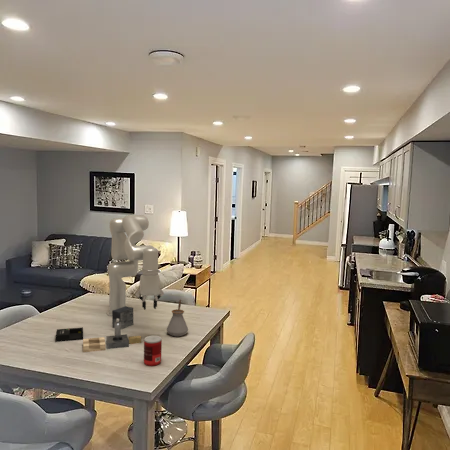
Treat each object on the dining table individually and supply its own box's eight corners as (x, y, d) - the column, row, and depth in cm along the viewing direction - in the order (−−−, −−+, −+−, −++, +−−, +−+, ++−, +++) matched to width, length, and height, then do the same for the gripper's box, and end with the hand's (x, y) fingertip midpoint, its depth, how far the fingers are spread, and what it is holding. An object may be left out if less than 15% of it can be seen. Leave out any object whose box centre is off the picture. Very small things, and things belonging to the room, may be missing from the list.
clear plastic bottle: (114, 343, 203) (114, 318, 202) (120, 343, 204) (120, 317, 203) (114, 346, 201) (114, 320, 199) (120, 345, 202) (121, 319, 200)
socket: (106, 341, 206) (106, 336, 205) (126, 340, 209) (126, 334, 209) (107, 349, 196) (107, 343, 196) (129, 347, 199) (129, 341, 199)
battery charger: (55, 343, 202) (55, 335, 202) (56, 336, 211) (56, 329, 211) (83, 341, 207) (83, 333, 206) (83, 334, 216) (83, 327, 215)
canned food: (162, 358, 188) (162, 335, 187) (160, 366, 180) (160, 342, 179) (145, 358, 187) (145, 335, 186) (142, 366, 179) (142, 341, 178)
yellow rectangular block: (128, 342, 206) (128, 336, 205) (140, 341, 208) (140, 335, 207) (128, 344, 203) (128, 338, 203) (141, 343, 205) (141, 337, 205)
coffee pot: (187, 338, 213) (187, 310, 212) (164, 338, 213) (165, 310, 212) (190, 325, 235) (190, 299, 233) (170, 324, 234) (170, 298, 233)
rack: (83, 344, 201) (83, 338, 201) (104, 342, 204) (104, 337, 204) (83, 352, 192) (83, 346, 191) (105, 350, 195) (105, 344, 195)
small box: (125, 323, 234) (125, 305, 233) (134, 325, 231) (134, 307, 230) (111, 328, 225) (111, 310, 224) (120, 331, 221) (120, 312, 221)
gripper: (165, 270, 211) (164, 305, 212) (132, 271, 205) (131, 307, 207) (168, 273, 204) (167, 309, 205) (133, 274, 198) (133, 311, 200)
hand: (149, 308), depth 206 cm, fingers open, 4 cm apart
